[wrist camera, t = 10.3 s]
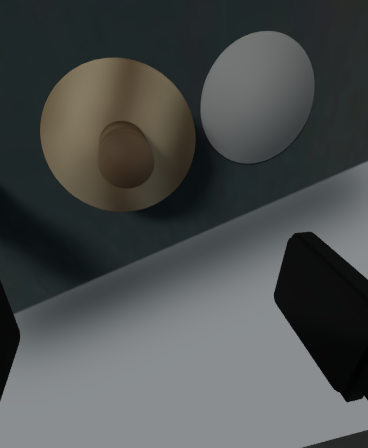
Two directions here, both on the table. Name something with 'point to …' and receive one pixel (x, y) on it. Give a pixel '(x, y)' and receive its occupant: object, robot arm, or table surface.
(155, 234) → the table surface
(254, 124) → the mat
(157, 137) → the lid
